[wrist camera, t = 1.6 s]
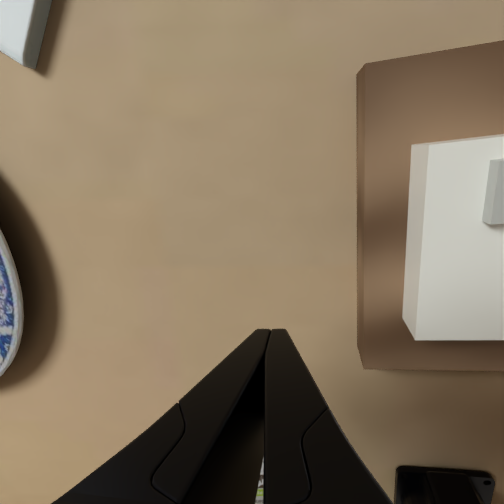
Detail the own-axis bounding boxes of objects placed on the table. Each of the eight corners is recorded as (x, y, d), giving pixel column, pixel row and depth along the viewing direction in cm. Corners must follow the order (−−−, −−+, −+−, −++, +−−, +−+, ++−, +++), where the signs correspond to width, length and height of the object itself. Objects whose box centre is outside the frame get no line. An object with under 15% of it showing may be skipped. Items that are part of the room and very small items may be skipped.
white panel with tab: (528, 316, 15) (571, 348, 13) (402, 317, 16) (419, 348, 14) (568, 126, 12) (633, 122, 10) (411, 144, 13) (435, 145, 11)
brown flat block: (569, 346, 18) (604, 372, 16) (357, 345, 20) (363, 369, 18) (657, 25, 12) (726, 2, 10) (356, 74, 15) (365, 63, 13)
